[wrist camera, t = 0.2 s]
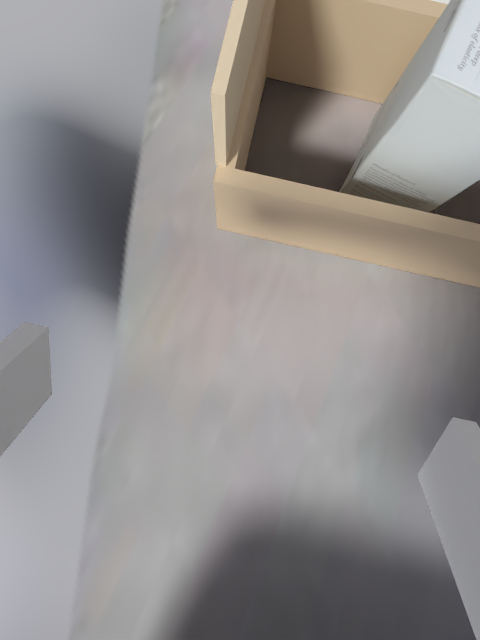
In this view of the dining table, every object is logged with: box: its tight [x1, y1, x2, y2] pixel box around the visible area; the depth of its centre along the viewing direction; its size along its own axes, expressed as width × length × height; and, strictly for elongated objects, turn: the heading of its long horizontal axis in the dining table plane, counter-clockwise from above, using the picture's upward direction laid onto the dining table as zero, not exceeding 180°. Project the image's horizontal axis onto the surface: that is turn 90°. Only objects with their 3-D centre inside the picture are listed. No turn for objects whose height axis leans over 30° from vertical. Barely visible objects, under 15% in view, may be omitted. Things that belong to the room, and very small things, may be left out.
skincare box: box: [339, 0, 480, 213], centre depth 23 cm, size 8×6×15 cm
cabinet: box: [211, 0, 480, 288], centre depth 24 cm, size 14×24×14 cm, turn 77°
